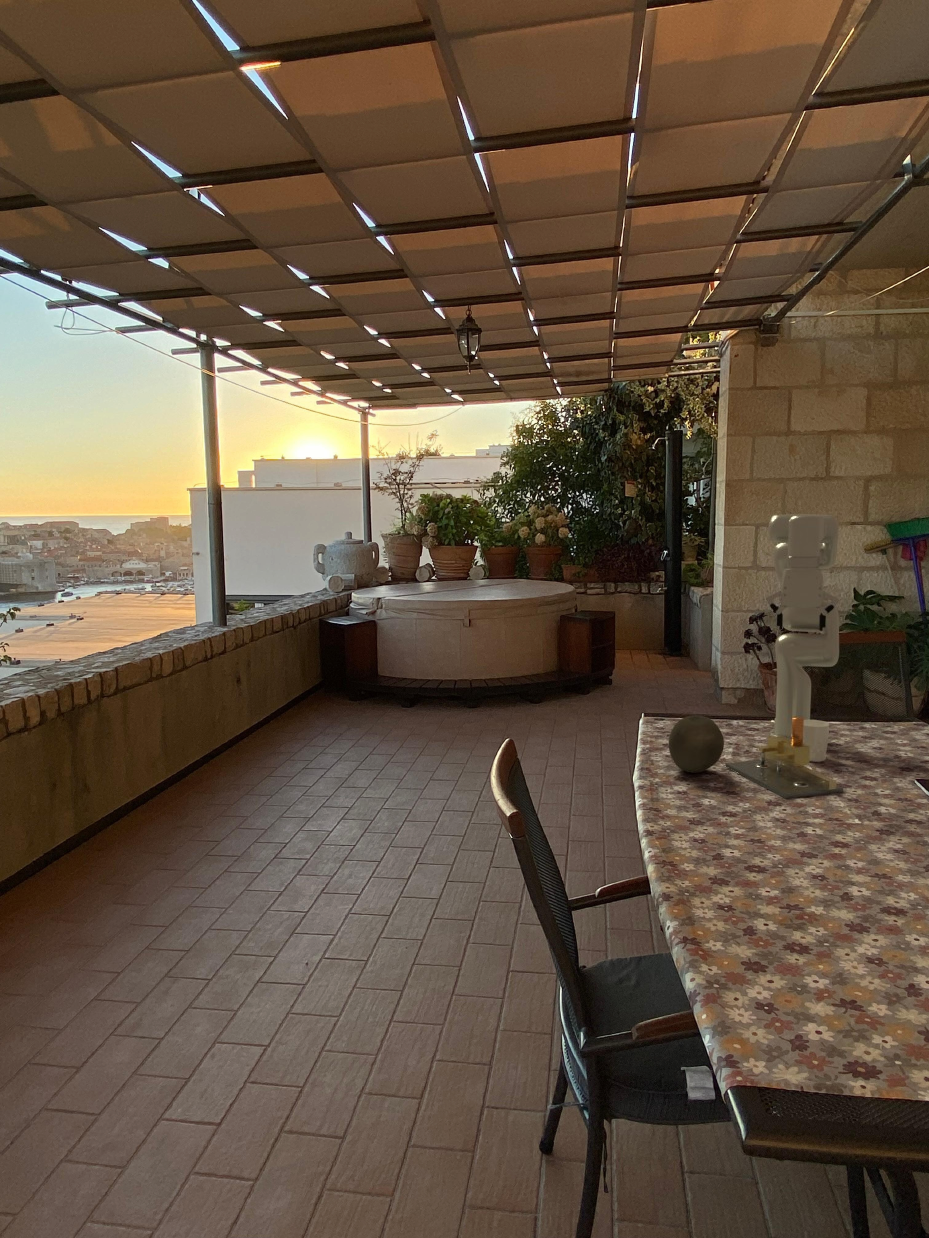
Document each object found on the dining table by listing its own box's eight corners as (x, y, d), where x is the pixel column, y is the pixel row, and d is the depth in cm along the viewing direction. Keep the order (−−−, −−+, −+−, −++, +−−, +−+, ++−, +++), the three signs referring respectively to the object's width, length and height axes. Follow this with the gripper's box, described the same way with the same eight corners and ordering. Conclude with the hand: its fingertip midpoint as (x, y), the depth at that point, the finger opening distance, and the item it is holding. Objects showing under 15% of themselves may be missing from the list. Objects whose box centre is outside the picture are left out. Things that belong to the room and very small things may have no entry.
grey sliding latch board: (725, 766, 223) (725, 737, 222) (777, 761, 227) (778, 733, 226) (785, 798, 198) (786, 765, 197) (843, 792, 202) (844, 759, 201)
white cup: (823, 764, 224) (825, 728, 223) (793, 759, 229) (794, 724, 228) (831, 757, 230) (832, 722, 229) (801, 752, 235) (802, 718, 234)
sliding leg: (771, 769, 215) (772, 717, 213) (797, 766, 217) (799, 715, 215) (781, 774, 211) (783, 721, 209) (808, 771, 213) (810, 719, 211)
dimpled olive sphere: (661, 776, 216) (662, 719, 214) (675, 761, 228) (676, 708, 226) (717, 784, 209) (719, 725, 207) (728, 768, 221) (729, 713, 220)
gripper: (838, 563, 214) (835, 629, 216) (767, 562, 220) (765, 626, 222) (841, 564, 207) (838, 632, 209) (767, 564, 213) (765, 630, 215)
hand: (800, 629), depth 216 cm, fingers open, 9 cm apart
